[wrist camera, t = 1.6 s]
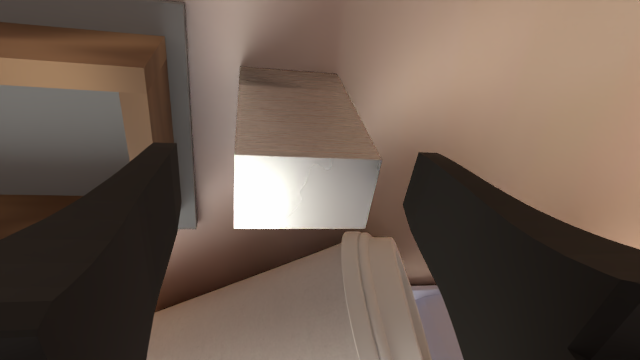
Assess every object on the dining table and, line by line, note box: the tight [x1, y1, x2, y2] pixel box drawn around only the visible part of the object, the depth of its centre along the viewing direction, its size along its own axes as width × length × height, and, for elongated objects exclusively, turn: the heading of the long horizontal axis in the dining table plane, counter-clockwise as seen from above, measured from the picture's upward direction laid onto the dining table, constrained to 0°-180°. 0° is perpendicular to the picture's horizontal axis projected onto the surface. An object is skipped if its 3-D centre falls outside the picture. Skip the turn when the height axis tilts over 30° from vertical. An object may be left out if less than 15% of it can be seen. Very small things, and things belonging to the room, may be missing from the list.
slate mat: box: [0, 0, 197, 229], centre depth 16 cm, size 14×10×1 cm
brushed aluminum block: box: [234, 66, 382, 229], centre depth 15 cm, size 4×4×7 cm
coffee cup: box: [146, 231, 432, 360], centre depth 20 cm, size 10×10×15 cm
